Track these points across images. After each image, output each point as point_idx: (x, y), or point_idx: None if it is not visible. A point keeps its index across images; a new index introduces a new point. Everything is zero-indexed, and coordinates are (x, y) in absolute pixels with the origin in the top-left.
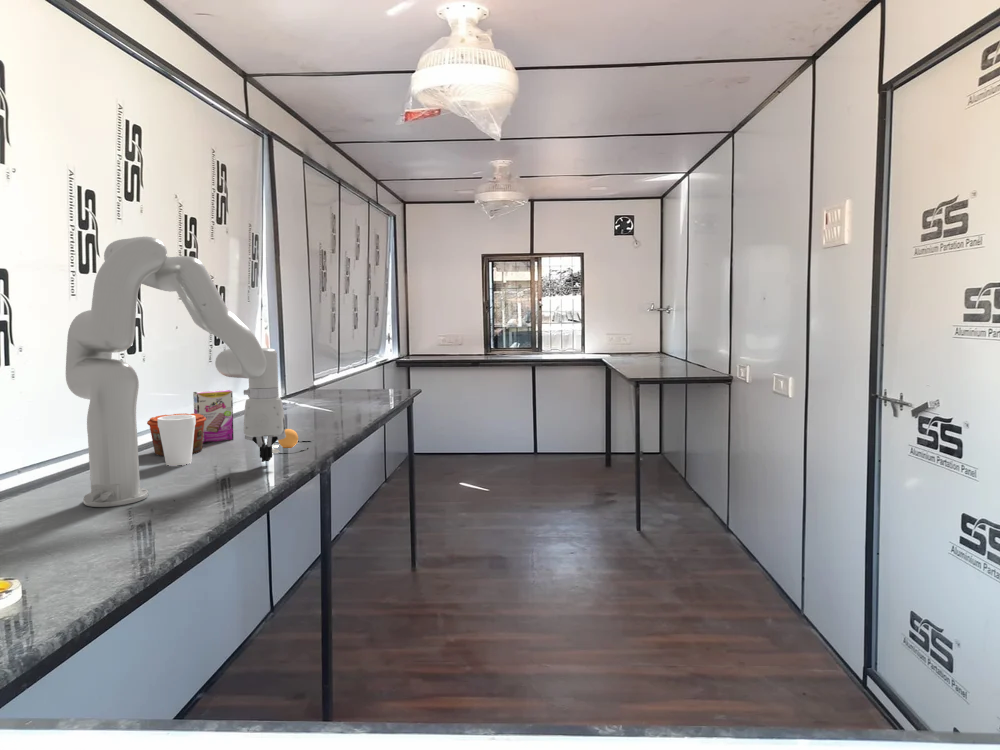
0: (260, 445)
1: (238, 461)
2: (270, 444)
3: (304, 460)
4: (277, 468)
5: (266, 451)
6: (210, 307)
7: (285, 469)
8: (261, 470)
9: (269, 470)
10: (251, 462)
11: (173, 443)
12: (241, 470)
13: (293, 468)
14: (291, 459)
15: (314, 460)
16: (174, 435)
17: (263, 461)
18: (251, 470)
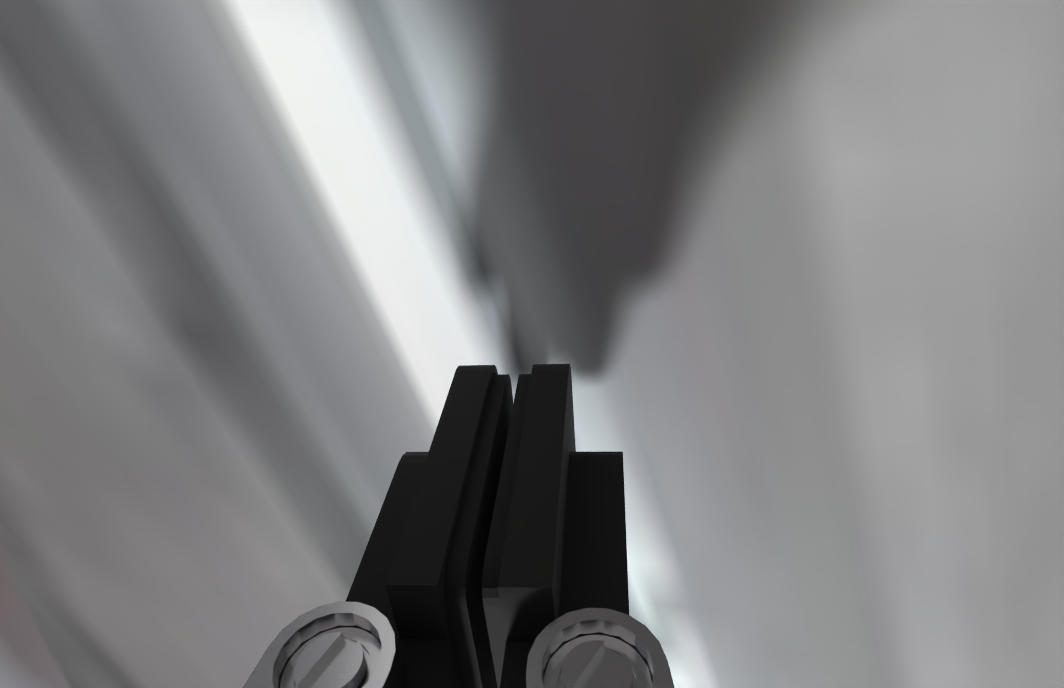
0: (581, 653)
1: (1003, 629)
2: (292, 675)
3: (166, 593)
4: (273, 204)
5: (434, 493)
6: None
7: (91, 121)
8: (497, 52)
9: (340, 47)
10: (811, 571)
11: None
12: (914, 65)
13: (7, 191)
14: None
15: (50, 583)
16: None
17: (545, 371)
18: (701, 59)
